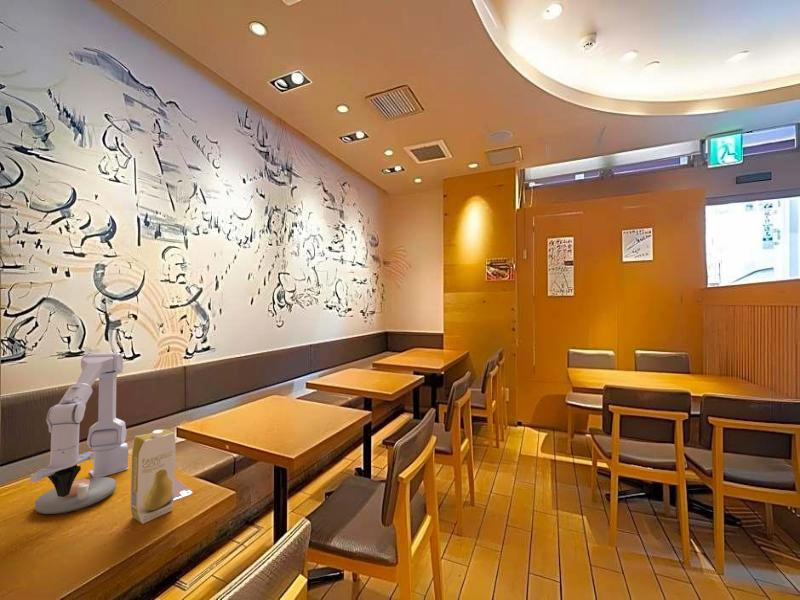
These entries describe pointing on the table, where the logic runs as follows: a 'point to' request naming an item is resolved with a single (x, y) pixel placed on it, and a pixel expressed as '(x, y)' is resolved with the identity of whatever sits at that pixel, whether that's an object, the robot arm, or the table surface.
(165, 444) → the juice carton
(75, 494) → the pink rounded disc
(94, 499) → the turntable
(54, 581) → the table surface
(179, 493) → the mobile phone
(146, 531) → the table surface
